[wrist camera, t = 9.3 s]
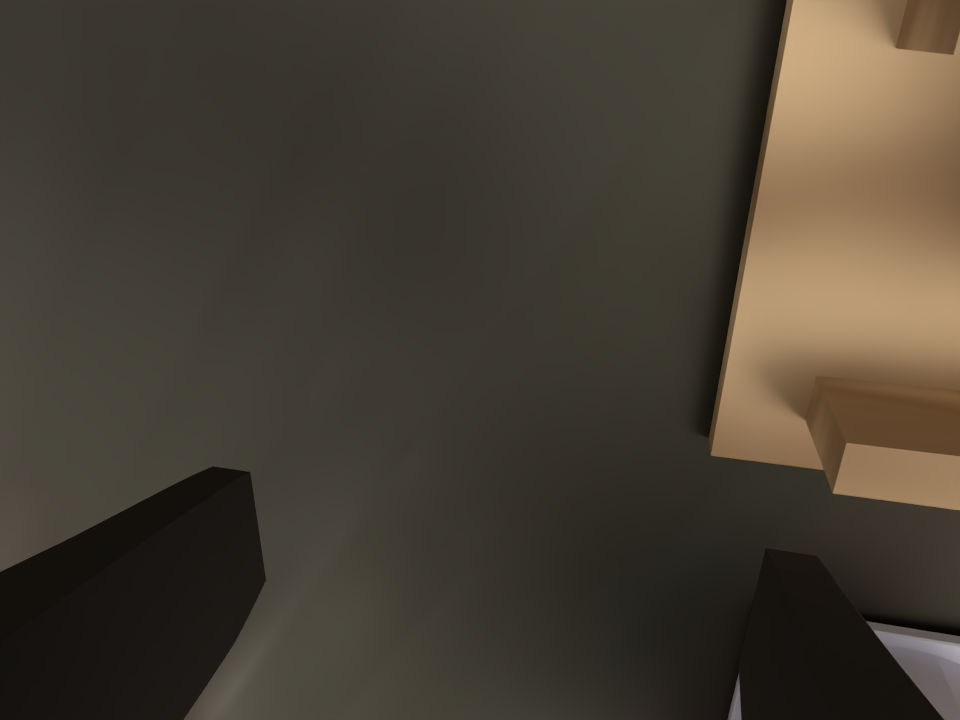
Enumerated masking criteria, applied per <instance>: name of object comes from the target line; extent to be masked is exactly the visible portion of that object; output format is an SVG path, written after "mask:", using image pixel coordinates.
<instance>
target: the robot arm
mask: <svg viewBox="0 0 960 720" xmlns="http://www.w3.org/2000/svg"><path fill="white" fill-rule="evenodd" d="M265 581H266V577H265V571H264V564H263V557H262V550H261V543H260V536H259V529H258V523H257V516H256V509H255V502H254V495H253V488H252V481H251V475H250V472H246V471H239V470H233V469H226V468H219V467H211V468H208V469H206V470H204V471H201V472H199V473H197V474H195V475H193V476H190V477H188V478H186V479H184V480H182V481H180V482H178V483H176V484H174V485H172V486H170V487H168V488H166V489H164V490H162V491H161V492H159V493H157V494H155V495H153V496H151V497H149V498H147V499H145V500H143V501H141V502H139V503H137V504H136V505H134V506H132V507H130V508H128V509H126V510H124V511H122V512H120V513H118V514H116V515H114V516H112V517H111V518H109V519H107V520H105V521H103V522H101V523H99V524H97V525H95V526H93V527H91V528H89V529H87V530H85V531H84V532H82V533H80V534H78V535H76V536H74V537H72V538H70V539H68V540H66V541H64V542H62V543H60V544H58V545H56V546H54V547H51V548H49V549H47V550H45V551H43V552H41V553H39V554H37V555H35V556H33V557H31V558H29V559H26V560H24V561H22V562H20V563H18V564H16V565H14V566H12V567H10V568H8V569H6V570H3V571H1V572H0V720H183V719H184V718H185V716H186V715H187V714H188V712H189V711H190V709H191V708H192V706H193V705H194V703H195V702H196V700H197V699H198V697H199V696H200V694H201V693H202V691H203V690H204V688H205V687H206V685H207V684H208V682H209V681H210V679H211V678H212V676H213V675H214V673H215V672H216V670H217V669H218V667H219V666H220V664H221V663H222V661H223V660H224V658H225V657H226V655H227V654H228V652H229V651H230V649H231V648H232V646H233V644H234V643H235V641H236V639H237V637H238V635H239V633H240V631H241V630H242V628H243V626H244V624H245V622H246V620H247V618H248V616H249V614H250V612H251V610H252V608H253V606H254V604H255V602H256V600H257V598H258V596H259V593H260V591H261V589H262V587H263V585H264V583H265ZM728 720H960V636H954V635H948V634H942V633H936V632H930V631H924V630H917V629H911V628H905V627H899V626H893V625H887V624H880V623H874V622H868V621H866V620H865V619H864V618H863V617H862V615H861V614H860V613H859V611H858V610H857V609H856V607H855V606H854V605H853V603H852V602H851V600H850V599H849V598H848V596H847V595H846V594H845V592H844V591H843V590H842V588H841V587H840V586H839V584H838V583H837V582H836V580H835V579H834V578H833V576H832V575H831V574H830V572H829V571H828V570H827V568H826V567H825V566H824V565H823V563H822V562H821V561H820V559H819V558H818V557H817V556H813V555H806V554H800V553H793V552H786V551H779V550H773V549H766V550H765V554H764V559H763V563H762V567H761V571H760V576H759V580H758V584H757V588H756V593H755V597H754V601H753V605H752V609H751V614H750V618H749V622H748V626H747V631H746V635H745V639H744V643H743V648H742V652H741V656H740V660H739V674H738V678H737V682H736V686H735V691H734V695H733V699H732V703H731V707H730V712H729V716H728Z"/></svg>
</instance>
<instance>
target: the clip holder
mask: <svg viewBox="0 0 960 720" xmlns="http://www.w3.org/2000/svg"><path fill="white" fill-rule="evenodd" d="M709 446H710V454H711V456H718V457H726V458H734V459H741V460H749V461H757V462H765V463H773V464H781V465H789V466H797V467H805V468H812V469H820V470H824V471H825V474H826V477H827V479H828V482H829V485H830V487H831V490H832V493H834V494H842V495H849V496H857V497H864V498H872V499H879V500H887V501H894V502H902V503H910V504H917V505H925V506H932V507H940V508H947V509H955V510H960V0H787V2H786V8H785V14H784V19H783V25H782V30H781V36H780V42H779V47H778V53H777V59H776V64H775V70H774V75H773V81H772V87H771V92H770V98H769V103H768V109H767V115H766V120H765V126H764V131H763V137H762V143H761V148H760V154H759V160H758V165H757V171H756V176H755V182H754V188H753V193H752V199H751V204H750V210H749V216H748V221H747V227H746V233H745V238H744V244H743V249H742V255H741V261H740V266H739V272H738V277H737V283H736V289H735V294H734V300H733V306H732V311H731V317H730V322H729V328H728V334H727V339H726V345H725V350H724V356H723V362H722V367H721V373H720V378H719V384H718V390H717V395H716V401H715V407H714V412H713V418H712V423H711V429H710V435H709Z"/></svg>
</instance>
